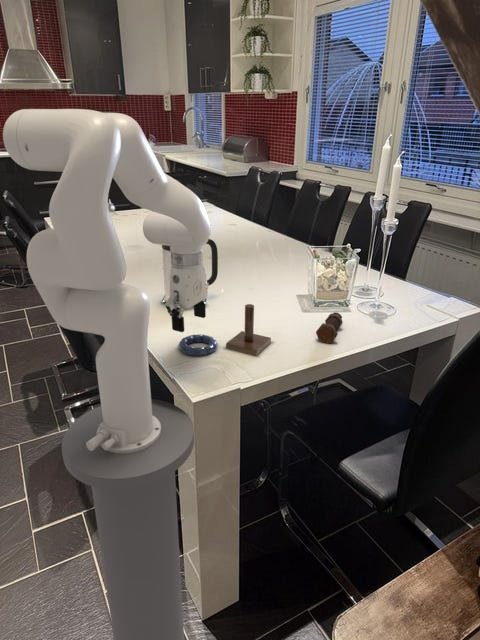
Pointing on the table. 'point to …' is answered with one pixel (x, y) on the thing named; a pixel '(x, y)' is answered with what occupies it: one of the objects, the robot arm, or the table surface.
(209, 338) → the ring
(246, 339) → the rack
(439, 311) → the table surface
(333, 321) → the bolt
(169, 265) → the coffee press
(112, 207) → the flower vase
